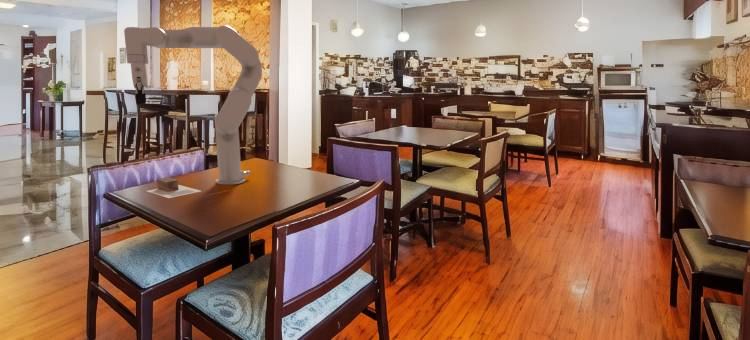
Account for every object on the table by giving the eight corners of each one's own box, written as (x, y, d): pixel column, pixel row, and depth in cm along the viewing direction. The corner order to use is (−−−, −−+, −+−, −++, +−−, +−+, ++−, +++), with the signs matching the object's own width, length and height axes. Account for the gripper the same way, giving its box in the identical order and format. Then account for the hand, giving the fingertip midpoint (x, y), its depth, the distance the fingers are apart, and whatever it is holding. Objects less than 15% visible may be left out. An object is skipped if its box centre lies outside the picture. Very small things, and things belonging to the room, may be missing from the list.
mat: (178, 185, 195) (178, 184, 195) (202, 192, 184) (202, 190, 184) (145, 192, 184) (145, 190, 184) (168, 199, 173) (168, 198, 173)
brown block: (168, 186, 191) (167, 177, 190) (178, 189, 186) (177, 180, 185) (157, 189, 187) (156, 179, 187) (167, 191, 183) (166, 182, 182)
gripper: (147, 59, 175) (151, 104, 179) (148, 60, 191) (152, 102, 194) (125, 58, 172) (129, 104, 176) (128, 60, 188) (132, 102, 191)
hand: (141, 103), depth 185 cm, fingers open, 9 cm apart
